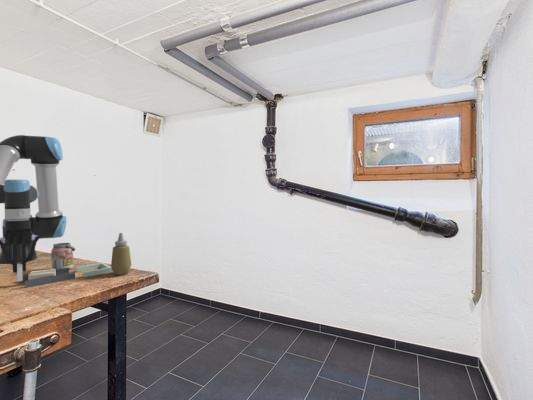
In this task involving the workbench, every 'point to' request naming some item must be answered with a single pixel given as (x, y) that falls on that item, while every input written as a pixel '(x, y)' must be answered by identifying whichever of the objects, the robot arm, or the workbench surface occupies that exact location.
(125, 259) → the squeeze bottle
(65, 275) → the chute
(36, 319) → the workbench surface
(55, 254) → the beverage can
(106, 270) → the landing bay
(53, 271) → the block
